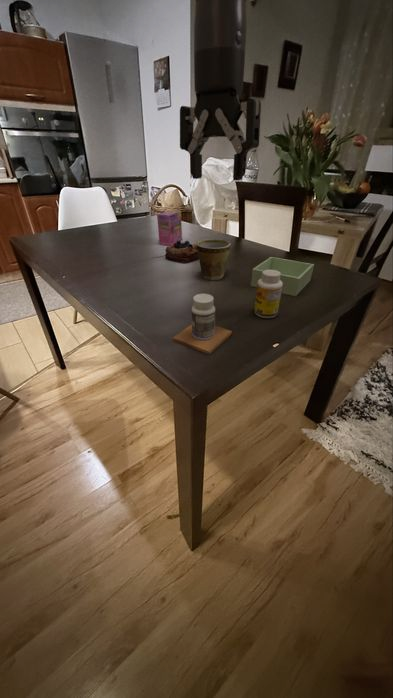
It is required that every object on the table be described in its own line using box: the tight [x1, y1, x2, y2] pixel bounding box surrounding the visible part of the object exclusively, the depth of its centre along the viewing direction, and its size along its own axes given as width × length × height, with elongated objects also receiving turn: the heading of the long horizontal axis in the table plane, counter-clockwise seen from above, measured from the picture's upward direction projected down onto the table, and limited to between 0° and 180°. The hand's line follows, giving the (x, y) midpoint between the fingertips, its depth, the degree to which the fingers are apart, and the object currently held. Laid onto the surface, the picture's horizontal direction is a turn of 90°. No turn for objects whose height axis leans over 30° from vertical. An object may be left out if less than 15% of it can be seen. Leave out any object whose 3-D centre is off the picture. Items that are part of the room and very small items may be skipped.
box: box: [156, 209, 183, 247], centre depth 118 cm, size 10×6×12 cm, turn 155°
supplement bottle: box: [253, 270, 283, 319], centre depth 65 cm, size 6×6×10 cm
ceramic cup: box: [195, 238, 231, 281], centre depth 87 cm, size 13×10×10 cm
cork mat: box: [172, 323, 233, 356], centre depth 59 cm, size 9×9×1 cm
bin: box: [250, 256, 315, 297], centre depth 81 cm, size 13×13×5 cm
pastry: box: [164, 240, 199, 264], centre depth 102 cm, size 11×12×6 cm
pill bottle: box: [191, 293, 216, 340], centre depth 57 cm, size 5×5×8 cm
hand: (216, 179), depth 51 cm, fingers open, 8 cm apart
